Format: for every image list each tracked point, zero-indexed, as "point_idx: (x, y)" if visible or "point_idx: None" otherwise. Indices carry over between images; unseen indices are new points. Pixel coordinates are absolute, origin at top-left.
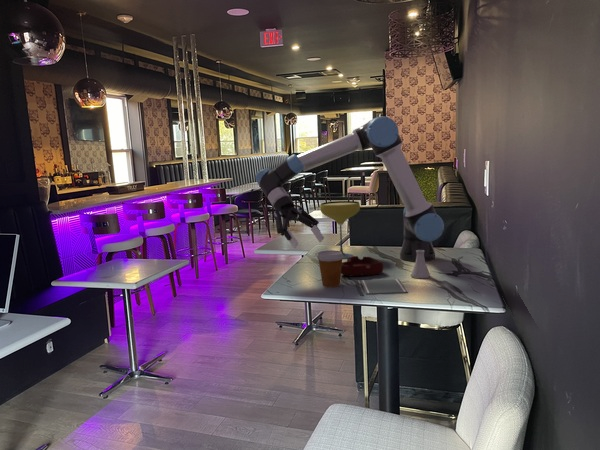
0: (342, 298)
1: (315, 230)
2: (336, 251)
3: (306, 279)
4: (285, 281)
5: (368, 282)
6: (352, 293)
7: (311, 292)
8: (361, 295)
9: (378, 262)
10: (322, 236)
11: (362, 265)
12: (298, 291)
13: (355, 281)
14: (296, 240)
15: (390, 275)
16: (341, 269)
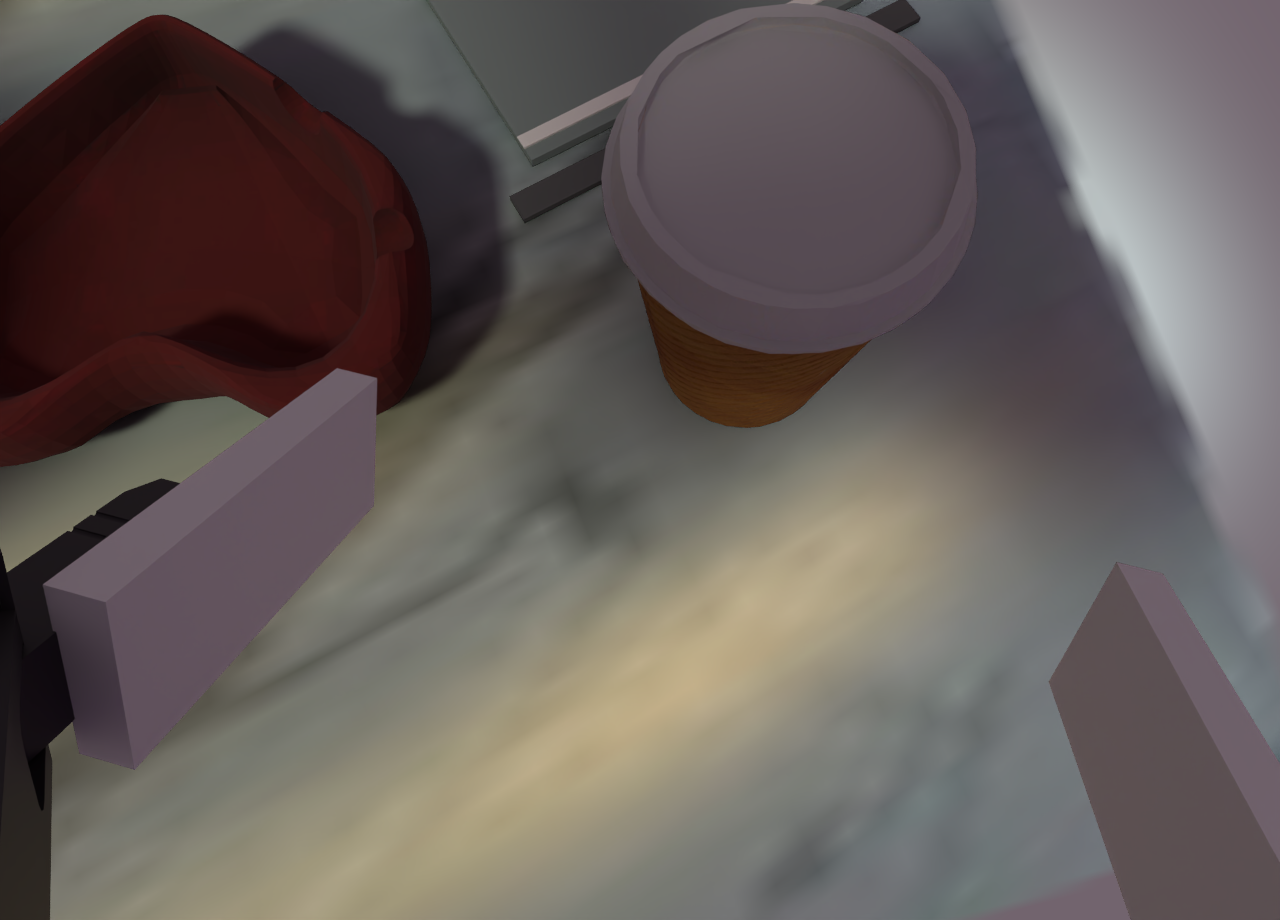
0: (1038, 106)
1: (220, 570)
2: (636, 133)
3: (656, 693)
4: (833, 892)
5: (565, 83)
6: None
7: (1035, 401)
8: (912, 11)
9: (98, 79)
10: (345, 389)
11: (341, 129)
12: (1074, 530)
13: (563, 195)
14: (1156, 617)
15: (247, 28)
16: (420, 350)
